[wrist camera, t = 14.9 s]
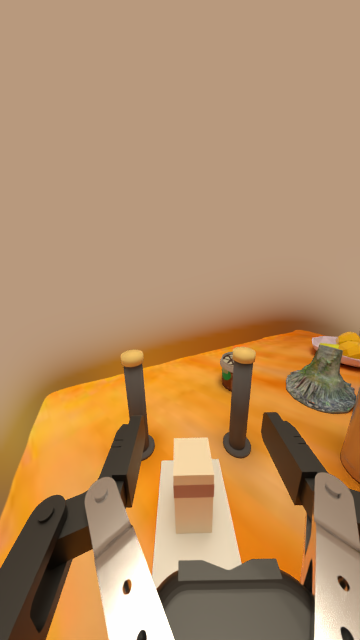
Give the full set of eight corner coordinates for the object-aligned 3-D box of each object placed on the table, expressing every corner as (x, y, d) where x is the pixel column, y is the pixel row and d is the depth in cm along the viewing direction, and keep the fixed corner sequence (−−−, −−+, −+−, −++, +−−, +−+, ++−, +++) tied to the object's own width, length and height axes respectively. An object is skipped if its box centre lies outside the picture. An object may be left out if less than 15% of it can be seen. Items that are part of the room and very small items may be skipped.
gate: (244, 433, 44) (252, 344, 38) (255, 457, 38) (266, 358, 32) (131, 436, 44) (121, 348, 37) (124, 461, 38) (110, 362, 32)
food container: (221, 372, 70) (222, 349, 68) (237, 375, 68) (239, 351, 66) (217, 392, 59) (218, 365, 56) (236, 395, 57) (238, 368, 54)
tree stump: (271, 388, 61) (282, 337, 59) (299, 383, 71) (310, 339, 70) (338, 424, 45) (356, 356, 44) (362, 410, 56) (378, 355, 54)
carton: (206, 489, 32) (207, 437, 29) (212, 533, 27) (214, 475, 24) (175, 490, 32) (173, 438, 29) (175, 534, 27) (172, 476, 24)
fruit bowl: (296, 352, 86) (299, 330, 83) (334, 343, 94) (338, 323, 91) (371, 385, 61) (380, 355, 58) (414, 370, 69) (424, 343, 66)
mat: (218, 461, 37) (218, 459, 37) (247, 593, 22) (247, 591, 22) (161, 462, 37) (161, 460, 37) (150, 597, 22) (150, 594, 22)
